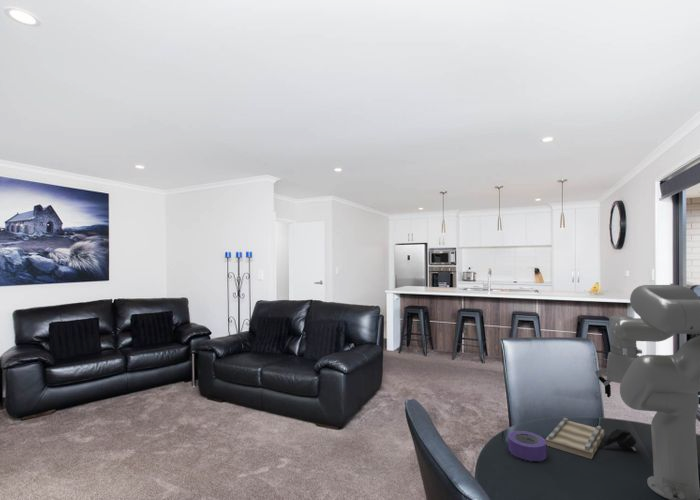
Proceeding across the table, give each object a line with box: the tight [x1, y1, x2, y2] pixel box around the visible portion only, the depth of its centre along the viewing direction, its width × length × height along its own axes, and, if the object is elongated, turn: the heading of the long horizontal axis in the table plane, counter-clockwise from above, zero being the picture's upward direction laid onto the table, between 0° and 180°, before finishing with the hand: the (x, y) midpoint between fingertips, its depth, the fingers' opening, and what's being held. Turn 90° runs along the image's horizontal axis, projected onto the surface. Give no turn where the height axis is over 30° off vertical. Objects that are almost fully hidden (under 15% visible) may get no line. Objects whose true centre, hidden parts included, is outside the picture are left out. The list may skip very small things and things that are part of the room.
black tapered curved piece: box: [598, 428, 637, 452], centre depth 126 cm, size 6×8×12 cm
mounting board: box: [544, 417, 606, 460], centre depth 133 cm, size 24×14×3 cm, turn 136°
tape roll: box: [507, 430, 547, 462], centre depth 124 cm, size 12×12×5 cm
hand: (625, 399), depth 127 cm, fingers open, 9 cm apart
